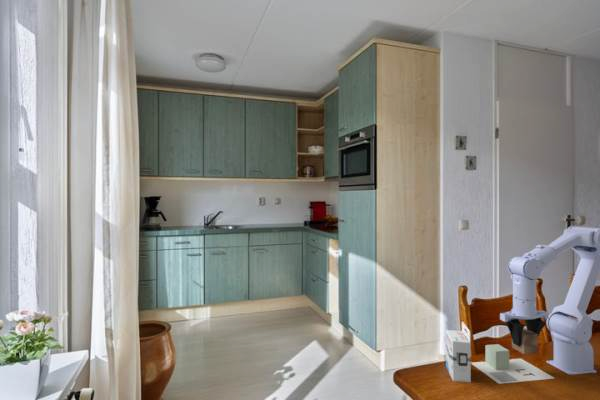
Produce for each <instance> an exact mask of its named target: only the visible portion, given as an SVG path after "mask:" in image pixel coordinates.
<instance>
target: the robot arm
mask: <svg viewBox="0 0 600 400" xmlns="http://www.w3.org/2000/svg"><path fill="white" fill-rule="evenodd" d="M570 249H571V250H573V252H574V253H575V254H576V255H578V256H579V259H580V260H579V262H578V265H577V267H576V270H575V273H574V276H573V278H572V281H571V284H570V286H569V290H568V292H567V294H566V296H565V300H564V301H563V302H564V303H563V304H560V305H557V306H554V307H553V309H552V312H550V313H549V312H548V311H545V310H537V279H538V278H539V277H540V276H541V275H542V272H543V271H544V270H545V268H546V267H549V266H550V265H551V264H553V263H555V262H556V261H557V259H558V255H560V254H562V253H564V252H567V251H568V250H570ZM506 267H507V271H508V273H509V274H510V279H511V281H512V308H511V310H510V311H506V312H499V313H500V314H499V320H500V321H502V322H504V323H505V324H506V326H507V329H508V331H509V333H510V336H511V341H512V340H513V343H514V344H515V345H517V346H521V339H522V331H523V329H524V328H525V326H526V329H527V330H529V331H532V332H534V333H536V334H538V337H540V334H541V332H542V330H543V329H544V328H545V327H547V329H548V330H549V331H550V335H551V336H553V337H552V338H553V360H552V359H551V360H546V363H547V364H549V365H551V366H553V367H554V368H556V369H558V370H560V371H562V372H563V373H566V374H568V375H570V376H571V375H580V374H581V375H582V374H592V373H593V374H597V370H595V367H594V347H593V346H592V344H591V343H590V339H591V338H592V335H593V334H592V333H593V331H592V330H593V324H594V321H593V320H592V319H591V317H590V316H589V315H588V313H586V311H587V309H588V307H589V303H590V301H591V299H592V295H593V293H594V290H595V288H596V285H597V281H598V279H599V276H600V227H588V226H586V227H585V226H576V225H571V226H569V227H567V228H566V229H565V228H564V230H563V233H562V235H560V236H559V237H558V238H556V239H555V240H553V241H552V242H550V243H549V244H547V245H546V244H538V245H536V246H535V248H533V249H532V250H530V251H528V252H525V253H524V254H523V255H522V256H518V255H517V256H514V257H513V258H511V259H510V260H509V262H508V265H507V266H506ZM542 319H544V320H546V321H544V320H542ZM520 321H524V322H525V324H523V323H521V322H520Z"/></svg>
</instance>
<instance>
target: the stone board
mask: <svg viewBox="0 0 600 400" xmlns="http://www.w3.org/2000/svg"><path fill="white" fill-rule="evenodd" d="M471 365H472V366H474V367H475V368H476V369H478V370H479V371H481V372H482V374H483V373H484V374H485V375H486V376H487V377H489V378H491V379H492V380H493V381H494V382H496V383H497V384H498V385H500V384H510V383H520V382H530V381H540V380H551V379H552V380H553V379H555V377H554V376H553V375H550V374H549V373H546V372H545V371H544V370H542V369H540V368H538V367H537V366H535V365H533V364H531V363H530V362H528V361H526V360H524V359H523V358H520V357H519V358H511V359H510V358H509V369H501V370H496V369H494V368H493V367H491V366H490V365H488V364H487V363H486V361H477V362H476V361H475V362H473V361H472V362H471Z"/></svg>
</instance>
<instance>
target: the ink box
mask: <svg viewBox="0 0 600 400" xmlns="http://www.w3.org/2000/svg"><path fill="white" fill-rule="evenodd" d="M471 333H472V332H471V330H470V329H469V328H468V326H467V325H466V324H465V322H464V321H461V330H453V329H452V330H451V329H446V330H445V368H446V369H447V371H448V374H449V376H450V377H451V380H452V381H453V382H461V383H471V382H472V380H471V377H472V373H471V372H472V371H471V370H472V369H471V368H472V364H471V363H472V360H471V359H472V351H471V350H472V349H471V348H472V346H471V345H472V344H471Z"/></svg>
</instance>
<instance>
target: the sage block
mask: <svg viewBox="0 0 600 400" xmlns="http://www.w3.org/2000/svg"><path fill="white" fill-rule="evenodd" d="M484 348H485V354H484V355H485V357H484V358H485V359H484V360H485V361H486V363H487V364H488V365H490V366H491V367H493V368H494V369H496V370H501V369H509V359H510V350H509V349H507V348H505V347H504V346H502V345H500V344H498V343H496V344H486V345H485V347H484ZM485 361H484V362H485Z"/></svg>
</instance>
